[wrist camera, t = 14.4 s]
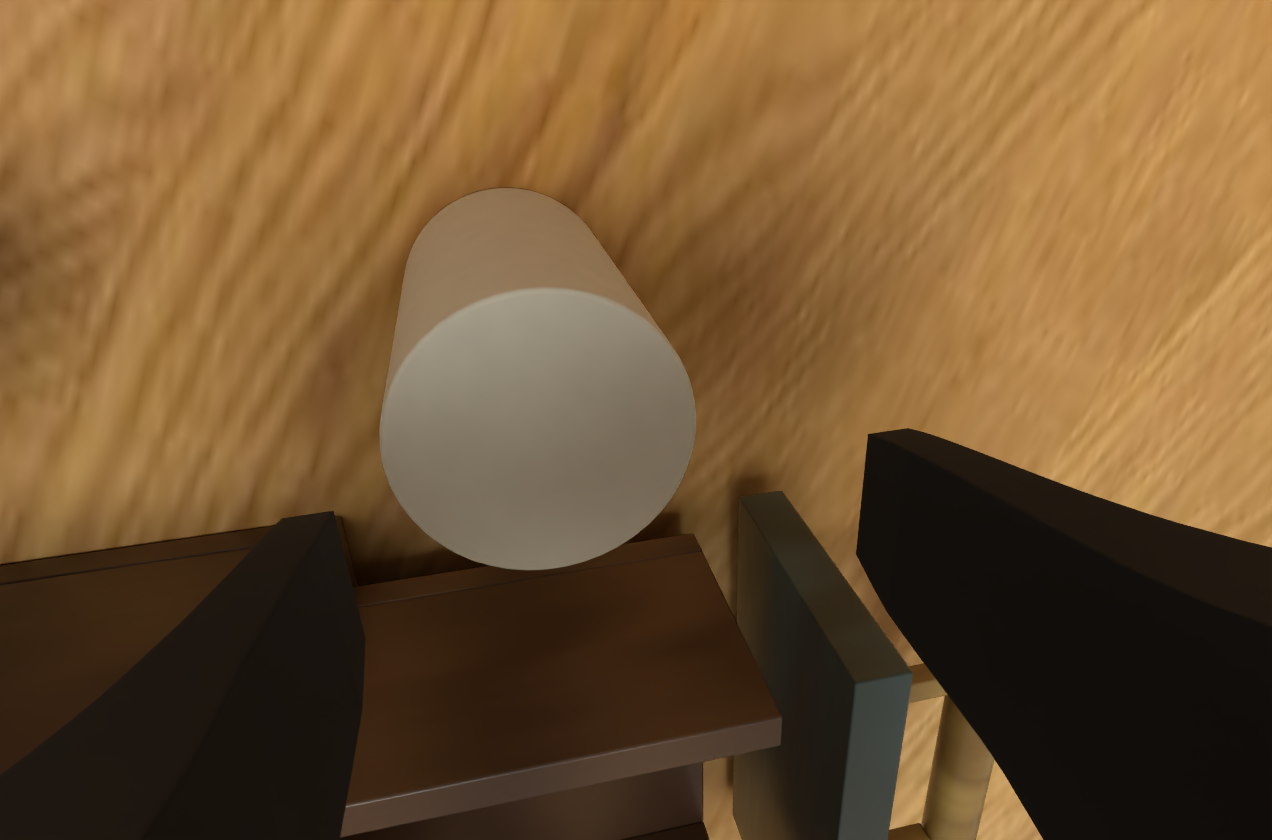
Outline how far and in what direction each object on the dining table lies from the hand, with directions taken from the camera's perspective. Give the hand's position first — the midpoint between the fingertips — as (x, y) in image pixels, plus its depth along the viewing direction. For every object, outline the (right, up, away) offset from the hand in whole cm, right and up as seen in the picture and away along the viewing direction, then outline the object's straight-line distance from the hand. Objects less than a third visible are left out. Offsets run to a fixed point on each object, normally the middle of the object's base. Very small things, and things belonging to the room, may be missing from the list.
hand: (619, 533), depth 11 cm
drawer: (0, -6, +12) cm, 14 cm away
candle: (-3, +5, +7) cm, 9 cm away
